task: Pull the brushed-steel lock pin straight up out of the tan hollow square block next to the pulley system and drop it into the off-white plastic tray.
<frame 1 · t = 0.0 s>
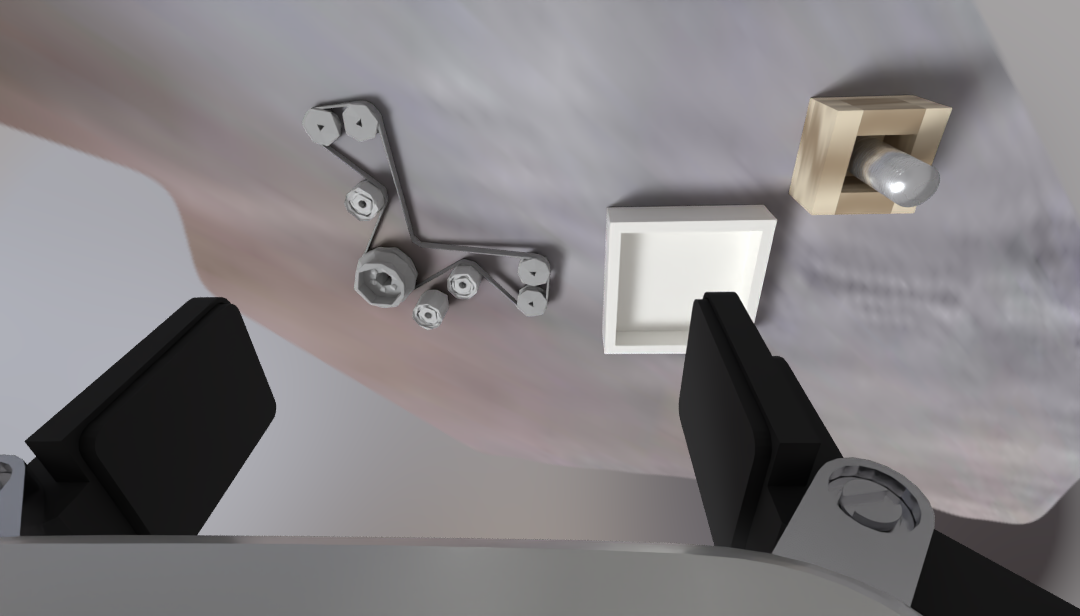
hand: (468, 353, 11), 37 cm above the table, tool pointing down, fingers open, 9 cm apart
tan hollow square block: (847, 146, 44), on the table
pulley system: (419, 237, 51), on the table
tray: (676, 274, 51), on the table
lock pin: (853, 150, 43), point 1 cm above the table, touching tan hollow square block
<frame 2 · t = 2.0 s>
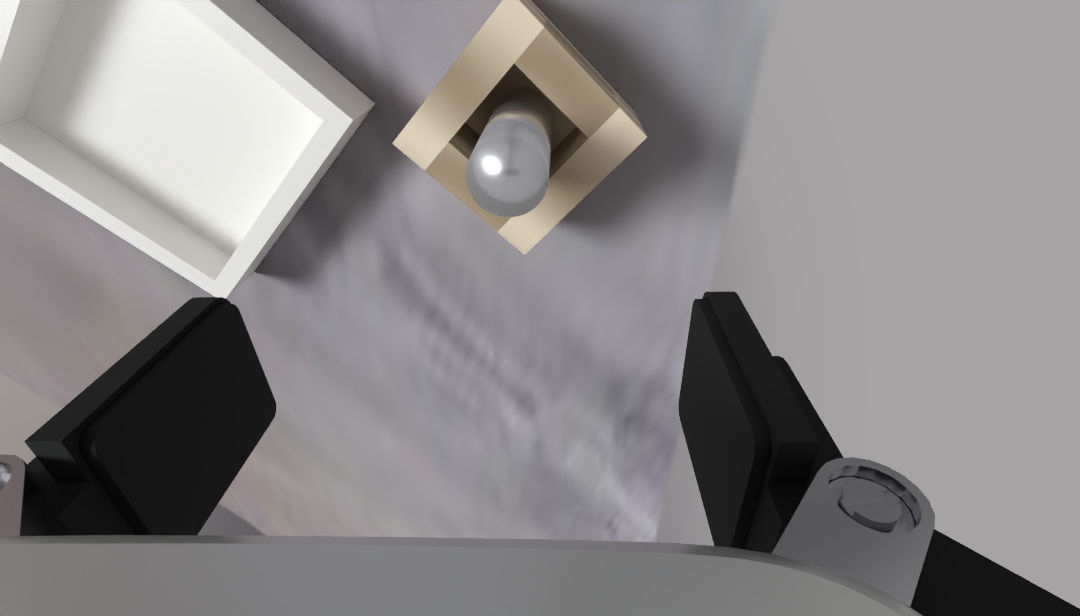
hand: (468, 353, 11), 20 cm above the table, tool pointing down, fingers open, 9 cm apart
tan hollow square block: (524, 114, 27), on the table
tray: (192, 109, 28), on the table
lock pin: (523, 118, 26), point 1 cm above the table, touching tan hollow square block
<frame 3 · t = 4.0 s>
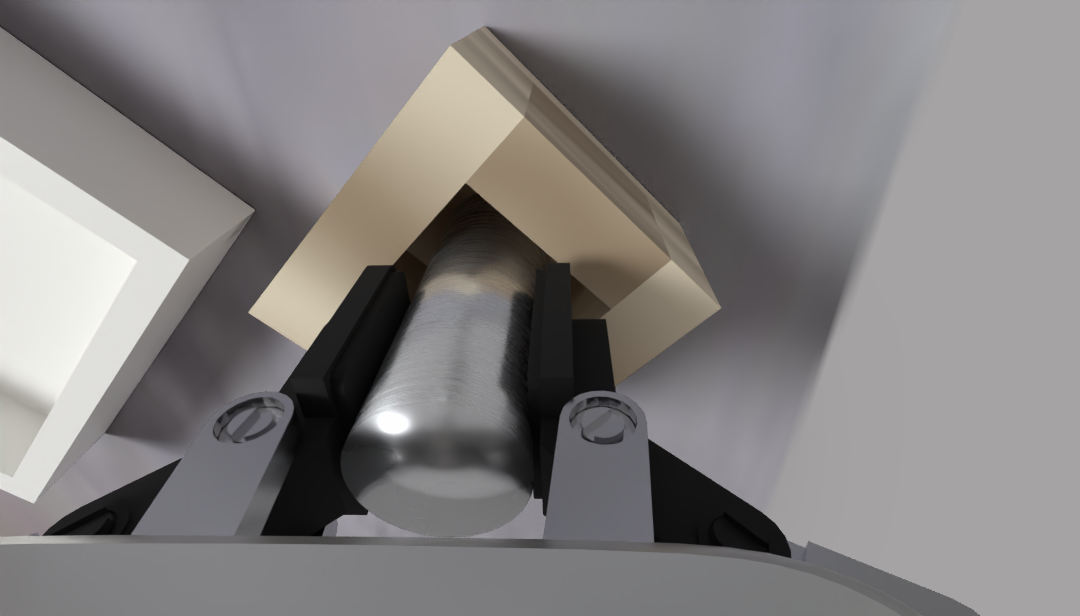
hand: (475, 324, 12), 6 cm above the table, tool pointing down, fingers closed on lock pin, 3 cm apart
tan hollow square block: (500, 226, 17), on the table
lock pin: (497, 238, 16), point 1 cm above the table, touching gripper, tan hollow square block
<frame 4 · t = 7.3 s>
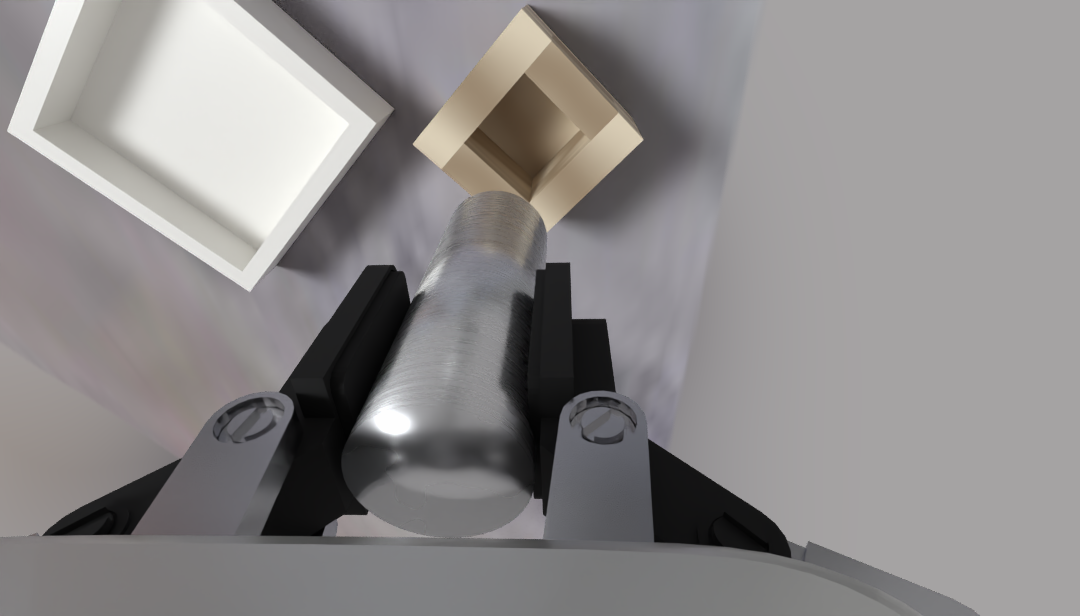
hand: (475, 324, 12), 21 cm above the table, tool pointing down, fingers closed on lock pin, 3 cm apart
tan hollow square block: (531, 119, 30), on the table
tray: (225, 113, 30), on the table
lock pin: (497, 238, 16), point 16 cm above the table, touching gripper
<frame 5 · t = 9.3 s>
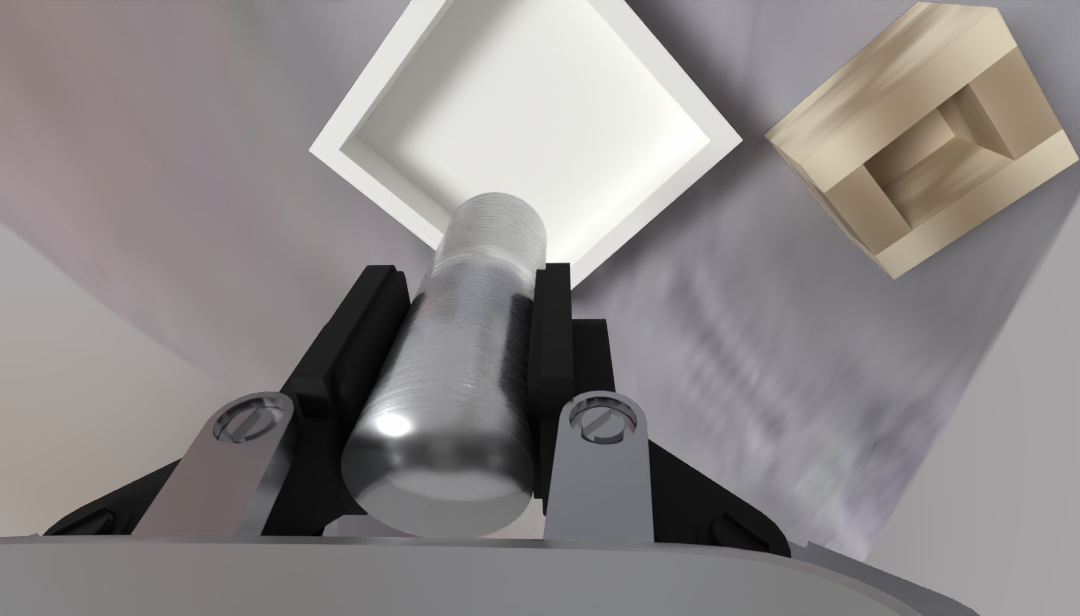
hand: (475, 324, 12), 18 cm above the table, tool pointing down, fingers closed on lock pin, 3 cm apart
tan hollow square block: (878, 132, 26), on the table
tray: (526, 126, 27), on the table
lock pin: (497, 240, 16), point 13 cm above the table, touching gripper
when the fingers open (8 cm above the table, at t = 11.1 s): lock pin drops 2 cm, resting on tray.
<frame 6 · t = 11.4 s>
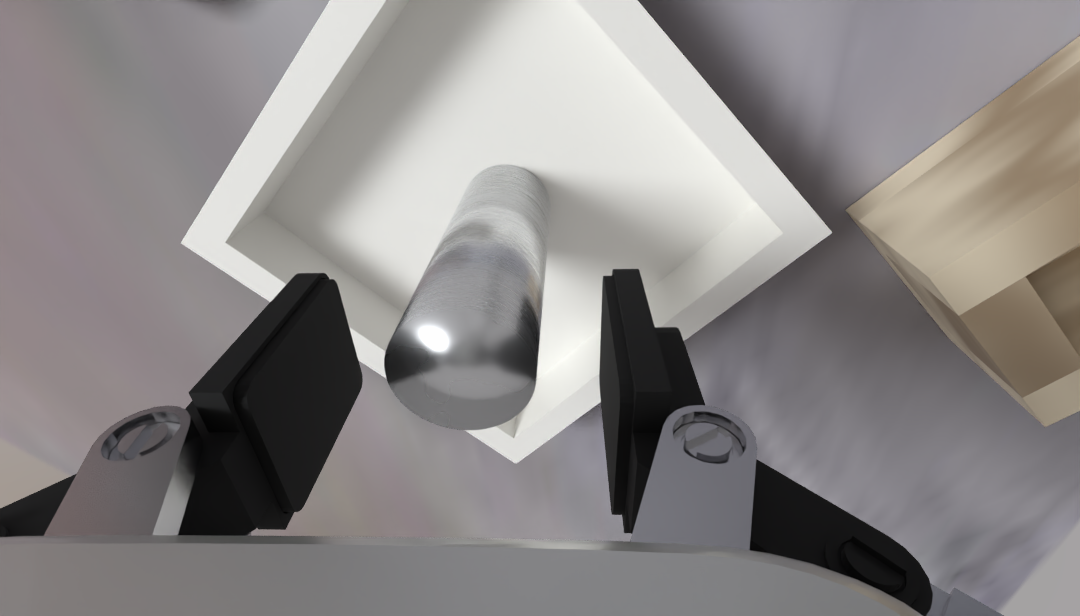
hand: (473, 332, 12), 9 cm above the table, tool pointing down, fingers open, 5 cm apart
tan hollow square block: (1010, 206, 18), on the table
tray: (507, 197, 19), on the table
lock pin: (506, 207, 18), point 1 cm above the table, touching tray
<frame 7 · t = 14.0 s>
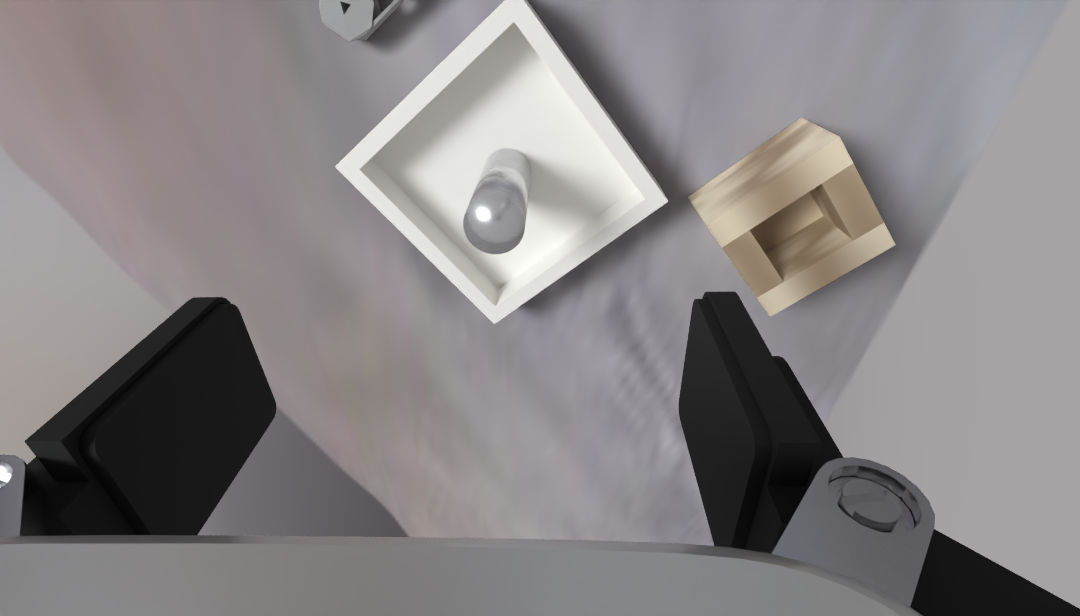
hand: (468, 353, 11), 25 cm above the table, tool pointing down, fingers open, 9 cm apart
tan hollow square block: (771, 205, 35), on the table
tray: (507, 167, 34), on the table
lock pin: (507, 172, 33), point 1 cm above the table, touching tray
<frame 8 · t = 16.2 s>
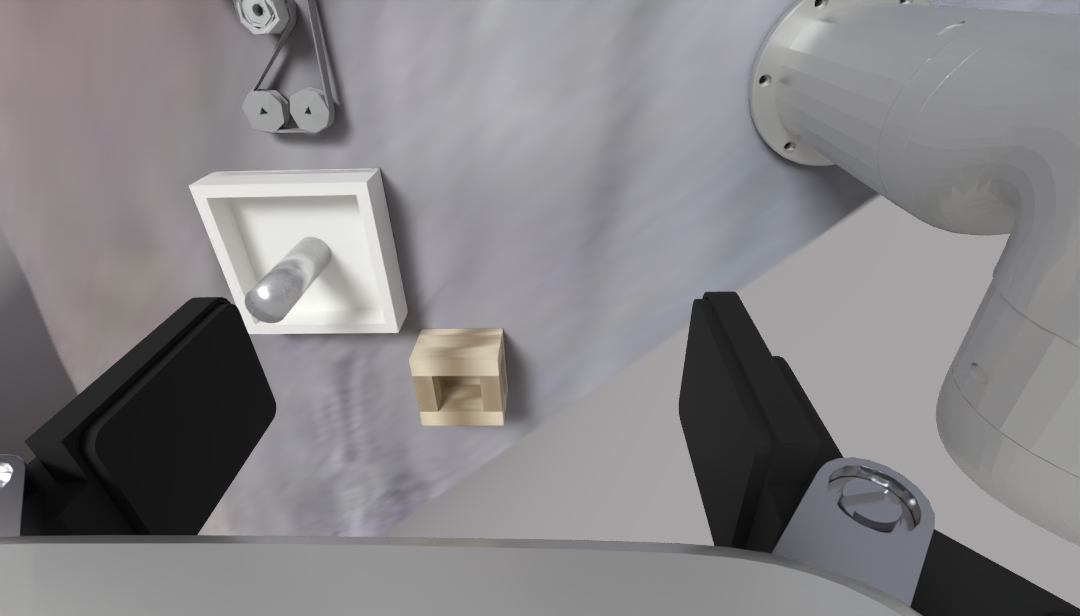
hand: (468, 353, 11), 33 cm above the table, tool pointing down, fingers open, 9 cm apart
tan hollow square block: (466, 361, 53), on the table
tray: (318, 247, 47), on the table
lock pin: (314, 252, 46), point 1 cm above the table, touching tray
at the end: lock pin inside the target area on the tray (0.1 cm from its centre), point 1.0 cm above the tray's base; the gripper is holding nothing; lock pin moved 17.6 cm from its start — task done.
